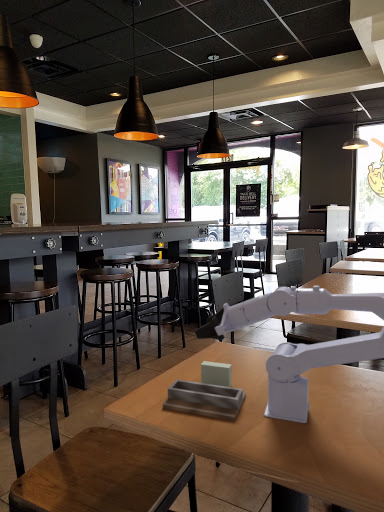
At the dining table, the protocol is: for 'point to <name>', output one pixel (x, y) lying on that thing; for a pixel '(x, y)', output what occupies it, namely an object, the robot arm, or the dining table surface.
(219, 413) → the grey metal tray
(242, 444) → the dining table surface
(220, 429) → the dining table surface
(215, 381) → the panel
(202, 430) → the dining table surface
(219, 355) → the dining table surface
